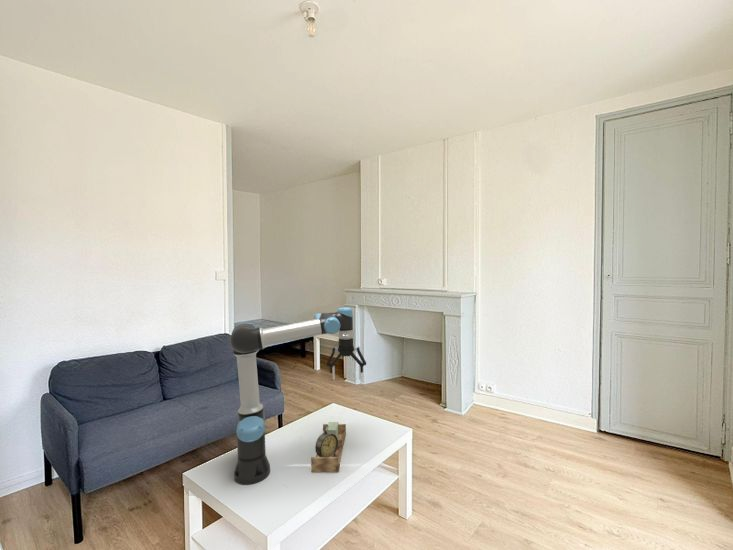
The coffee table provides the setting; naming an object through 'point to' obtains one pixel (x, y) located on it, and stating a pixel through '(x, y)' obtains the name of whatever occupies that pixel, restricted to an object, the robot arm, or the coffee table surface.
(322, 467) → the wooden rack
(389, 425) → the coffee table surface
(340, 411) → the coffee table surface
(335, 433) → the sage block
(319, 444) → the alarm clock
